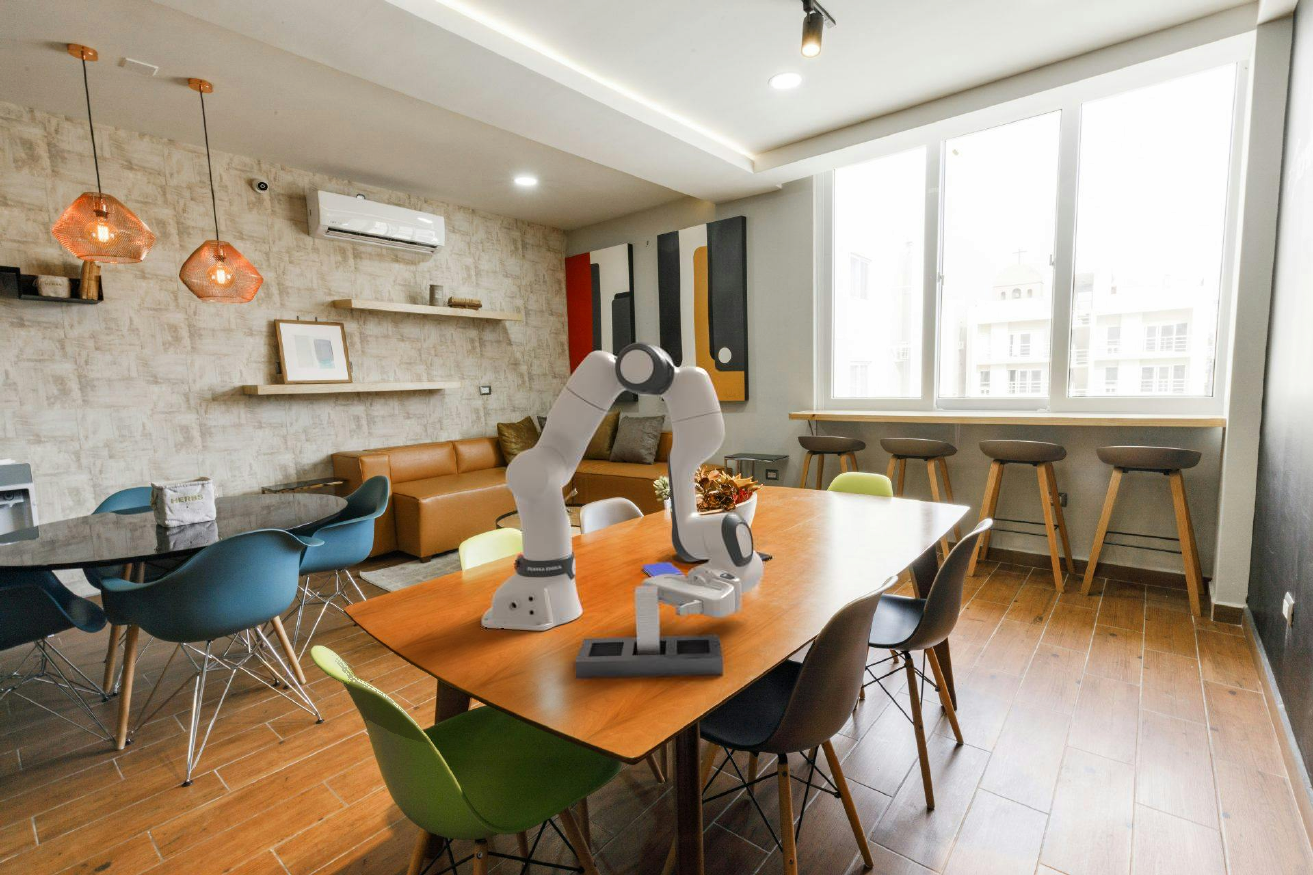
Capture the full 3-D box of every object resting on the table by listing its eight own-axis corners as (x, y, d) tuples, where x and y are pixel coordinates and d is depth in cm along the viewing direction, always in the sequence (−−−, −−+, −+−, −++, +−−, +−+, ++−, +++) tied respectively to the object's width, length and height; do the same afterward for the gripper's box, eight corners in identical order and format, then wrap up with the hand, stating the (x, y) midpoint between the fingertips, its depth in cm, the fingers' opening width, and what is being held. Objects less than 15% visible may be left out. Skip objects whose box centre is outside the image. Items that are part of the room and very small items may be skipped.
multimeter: (734, 576, 159) (734, 564, 159) (708, 566, 170) (708, 554, 169) (784, 564, 169) (783, 553, 169) (756, 556, 179) (755, 544, 179)
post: (638, 668, 107) (634, 593, 106) (639, 658, 111) (636, 586, 110) (660, 668, 107) (656, 592, 106) (660, 658, 111) (657, 585, 110)
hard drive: (683, 573, 160) (668, 561, 171) (655, 577, 157) (641, 565, 169) (684, 578, 160) (669, 566, 171) (655, 583, 157) (642, 570, 169)
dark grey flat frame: (575, 678, 104) (575, 661, 104) (584, 653, 114) (583, 638, 114) (723, 674, 103) (722, 658, 103) (719, 649, 113) (718, 634, 113)
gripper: (668, 562, 127) (621, 579, 117) (746, 580, 113) (700, 600, 103) (670, 591, 128) (622, 610, 118) (747, 612, 113) (701, 635, 103)
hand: (659, 605), depth 110 cm, fingers open, 8 cm apart
